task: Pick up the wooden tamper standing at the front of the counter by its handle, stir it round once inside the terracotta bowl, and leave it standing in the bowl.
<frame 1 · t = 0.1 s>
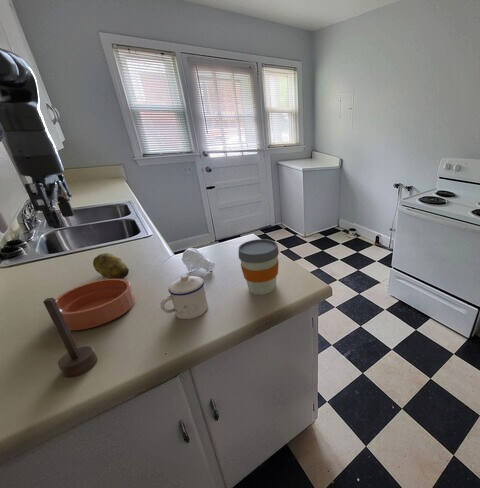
hand: (62, 220, 67), 28 cm above the countertop, tool pointing down, fingers open, 8 cm apart
crumpled white tissue: (202, 270, 102), on the countertop
reusable coffee cup: (262, 287, 91), on the countertop
potato: (114, 276, 98), on the countertop
teacup with lid: (187, 313, 78), on the countertop
wooden tamper: (80, 366, 61), on the countertop
bowl: (99, 311, 79), on the countertop
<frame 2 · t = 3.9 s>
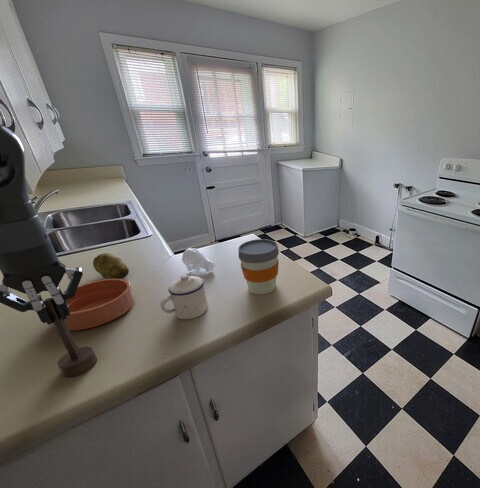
hand: (57, 319, 56), 13 cm above the countertop, tool pointing down, fingers closed on wooden tamper
wooden tamper: (80, 366, 61), on the countertop, touching gripper
everything else where it was.
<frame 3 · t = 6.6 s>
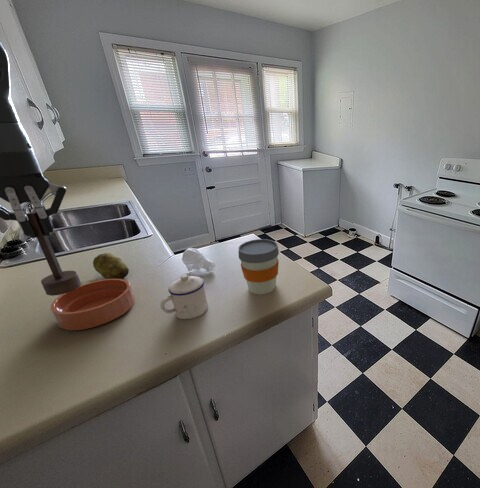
hand: (41, 235, 57), 29 cm above the countertop, tool pointing down, fingers closed on wooden tamper
wooden tamper: (64, 288, 62), point 16 cm above the countertop, touching gripper
everything else where it was.
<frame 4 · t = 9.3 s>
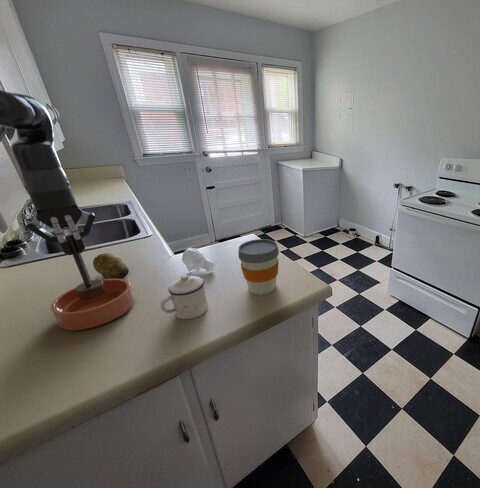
hand: (75, 252, 71), 19 cm above the countertop, tool pointing down, fingers closed on wooden tamper
wooden tamper: (92, 294, 77), point 6 cm above the countertop, touching gripper
everything else where it was.
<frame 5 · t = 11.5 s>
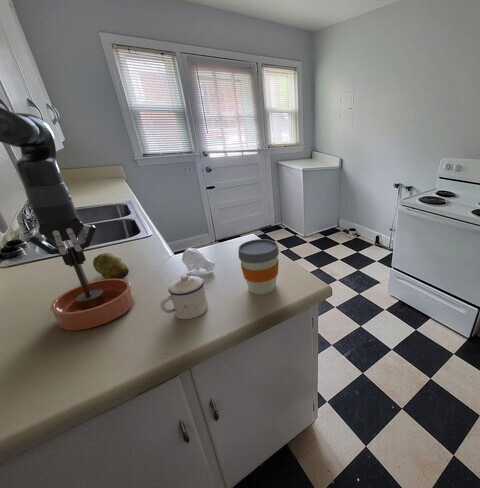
hand: (76, 264, 73), 15 cm above the countertop, tool pointing down, fingers closed on wooden tamper
wooden tamper: (92, 303, 79), point 2 cm above the countertop, touching gripper
everything else where it was.
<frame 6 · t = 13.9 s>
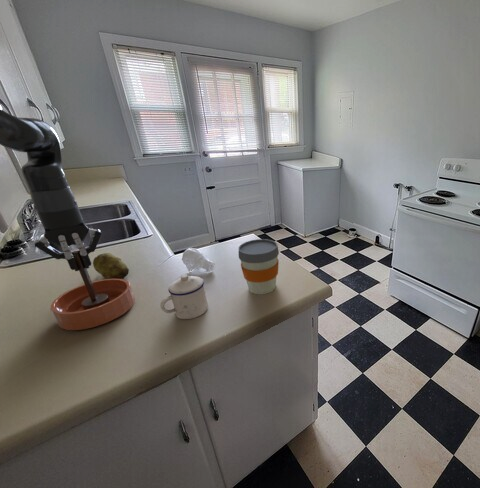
hand: (82, 268, 73), 14 cm above the countertop, tool pointing down, fingers closed on wooden tamper
wooden tamper: (98, 308, 78), point 1 cm above the countertop, touching gripper
everything else where it was.
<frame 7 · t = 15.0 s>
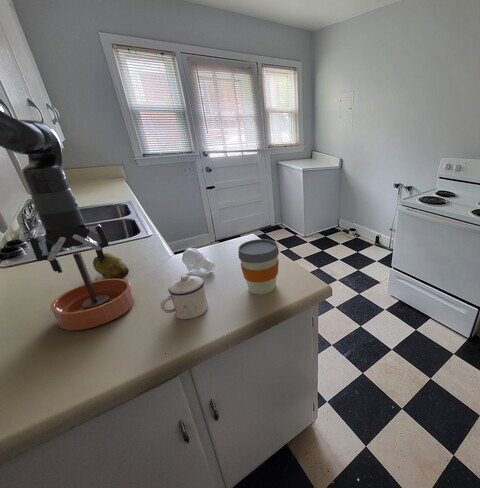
hand: (81, 266, 73), 15 cm above the countertop, tool pointing down, fingers open, 8 cm apart
wooden tamper: (98, 309, 79), point 1 cm above the countertop, touching bowl
everything else where it was.
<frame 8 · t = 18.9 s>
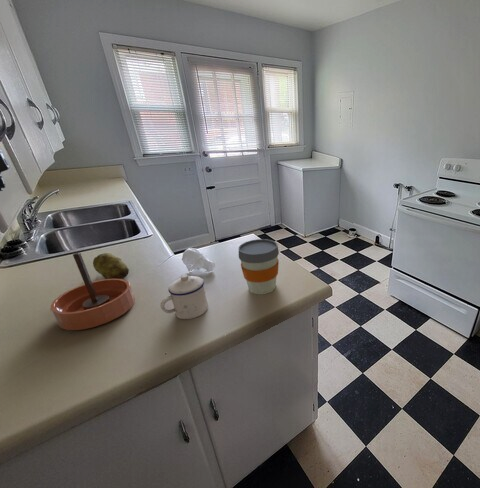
nothing on the countertop moved.
at the end: wooden tamper inside the target area in the bowl (0.1 cm from its centre), point 0.8 cm above the bowl's base; wooden tamper tilted 0°; the gripper is holding nothing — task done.
